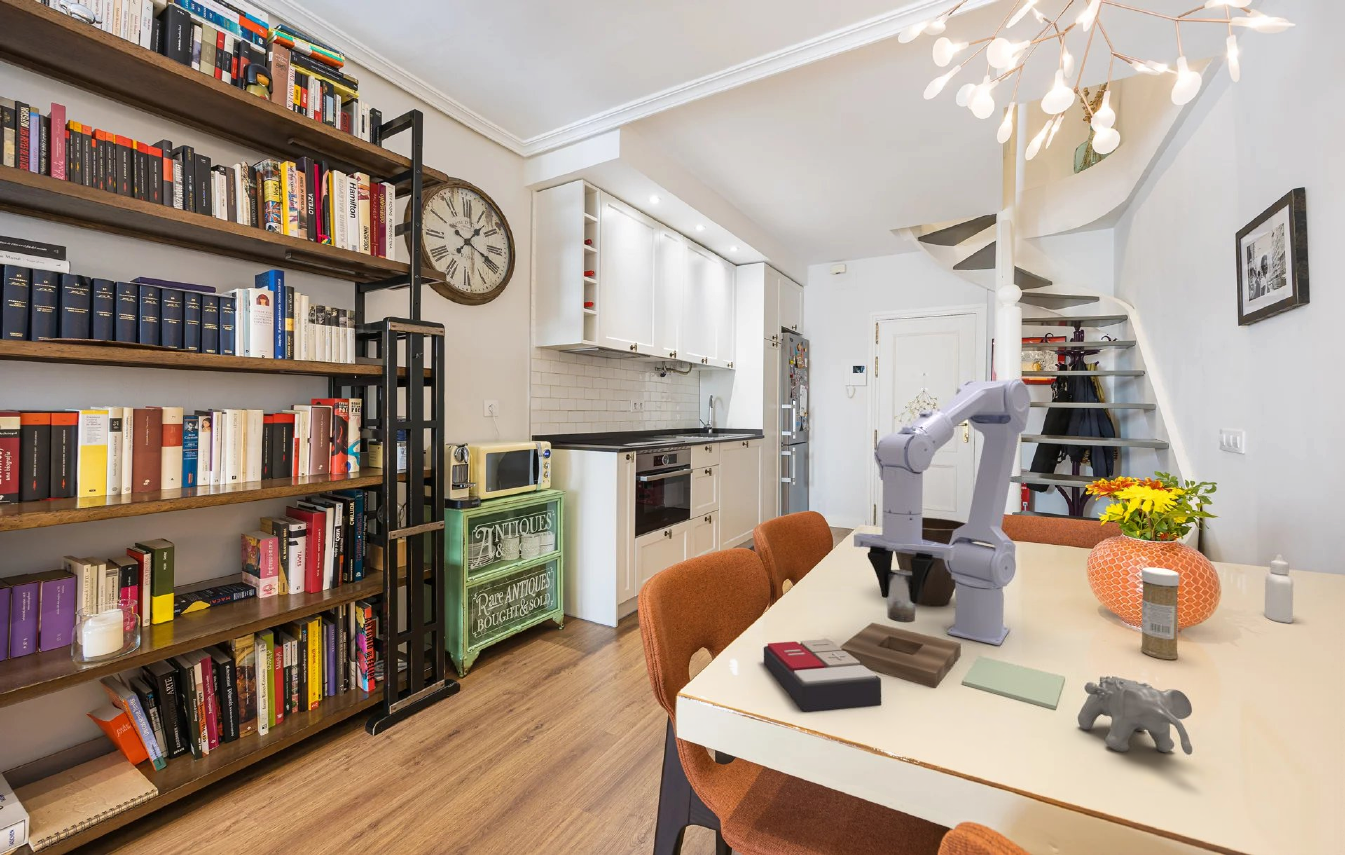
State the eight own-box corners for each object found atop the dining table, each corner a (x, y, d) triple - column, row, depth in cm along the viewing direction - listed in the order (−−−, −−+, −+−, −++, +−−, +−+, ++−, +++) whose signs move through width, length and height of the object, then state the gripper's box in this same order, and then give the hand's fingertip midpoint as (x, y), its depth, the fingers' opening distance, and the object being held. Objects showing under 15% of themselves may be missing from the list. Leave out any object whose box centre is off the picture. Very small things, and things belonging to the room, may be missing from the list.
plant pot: (874, 592, 123) (875, 518, 123) (931, 587, 127) (932, 515, 127) (924, 615, 108) (925, 531, 108) (986, 608, 113) (988, 527, 113)
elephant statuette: (1119, 721, 72) (1116, 658, 72) (1238, 772, 60) (1234, 697, 60) (1064, 734, 69) (1061, 669, 69) (1178, 790, 57) (1174, 712, 58)
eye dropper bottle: (1300, 620, 107) (1302, 556, 107) (1289, 624, 105) (1290, 559, 105) (1268, 612, 111) (1269, 551, 111) (1256, 617, 109) (1257, 554, 109)
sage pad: (979, 659, 89) (979, 655, 89) (1064, 680, 82) (1064, 676, 82) (961, 684, 80) (961, 680, 80) (1055, 710, 73) (1055, 706, 73)
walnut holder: (872, 634, 99) (872, 622, 99) (960, 655, 90) (960, 643, 90) (838, 660, 88) (838, 647, 88) (935, 687, 79) (935, 673, 79)
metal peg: (892, 611, 92) (892, 568, 92) (918, 617, 89) (918, 572, 89) (883, 618, 89) (884, 573, 89) (910, 624, 86) (910, 578, 86)
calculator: (830, 636, 89) (882, 673, 75) (830, 664, 89) (883, 706, 74) (762, 641, 87) (802, 679, 73) (762, 669, 87) (803, 714, 72)
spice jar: (1182, 656, 90) (1183, 571, 90) (1171, 663, 88) (1173, 575, 88) (1146, 646, 94) (1147, 565, 94) (1135, 652, 92) (1136, 568, 92)
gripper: (846, 509, 90) (845, 595, 91) (945, 520, 81) (944, 616, 81) (863, 504, 96) (862, 585, 96) (958, 514, 87) (957, 603, 87)
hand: (901, 599), depth 89 cm, fingers closed on metal peg, 4 cm apart
